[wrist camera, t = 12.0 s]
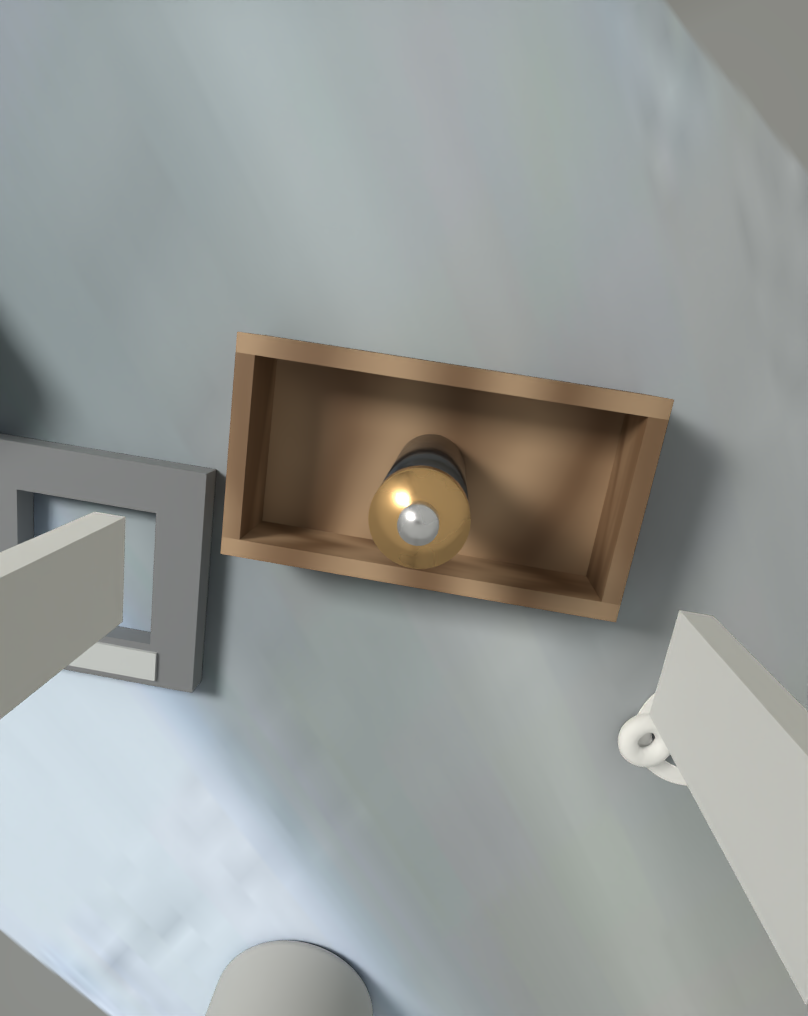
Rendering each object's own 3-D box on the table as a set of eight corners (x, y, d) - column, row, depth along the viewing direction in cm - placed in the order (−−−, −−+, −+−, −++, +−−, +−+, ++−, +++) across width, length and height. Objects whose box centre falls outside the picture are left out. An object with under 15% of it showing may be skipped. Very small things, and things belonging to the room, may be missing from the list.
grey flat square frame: (-13, 431, 38) (-34, 434, 36) (216, 469, 37) (205, 474, 36) (-7, 643, 42) (-26, 654, 40) (201, 681, 41) (190, 694, 39)
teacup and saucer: (598, 746, 40) (613, 788, 36) (659, 649, 38) (682, 683, 34) (715, 798, 40) (743, 846, 36) (782, 705, 38) (819, 745, 34)
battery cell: (401, 428, 35) (372, 465, 22) (470, 439, 34) (480, 482, 22) (391, 495, 36) (359, 566, 23) (458, 506, 36) (461, 583, 23)
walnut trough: (250, 528, 38) (220, 553, 33) (267, 335, 35) (237, 331, 30) (595, 587, 37) (616, 622, 32) (643, 393, 34) (674, 399, 29)
